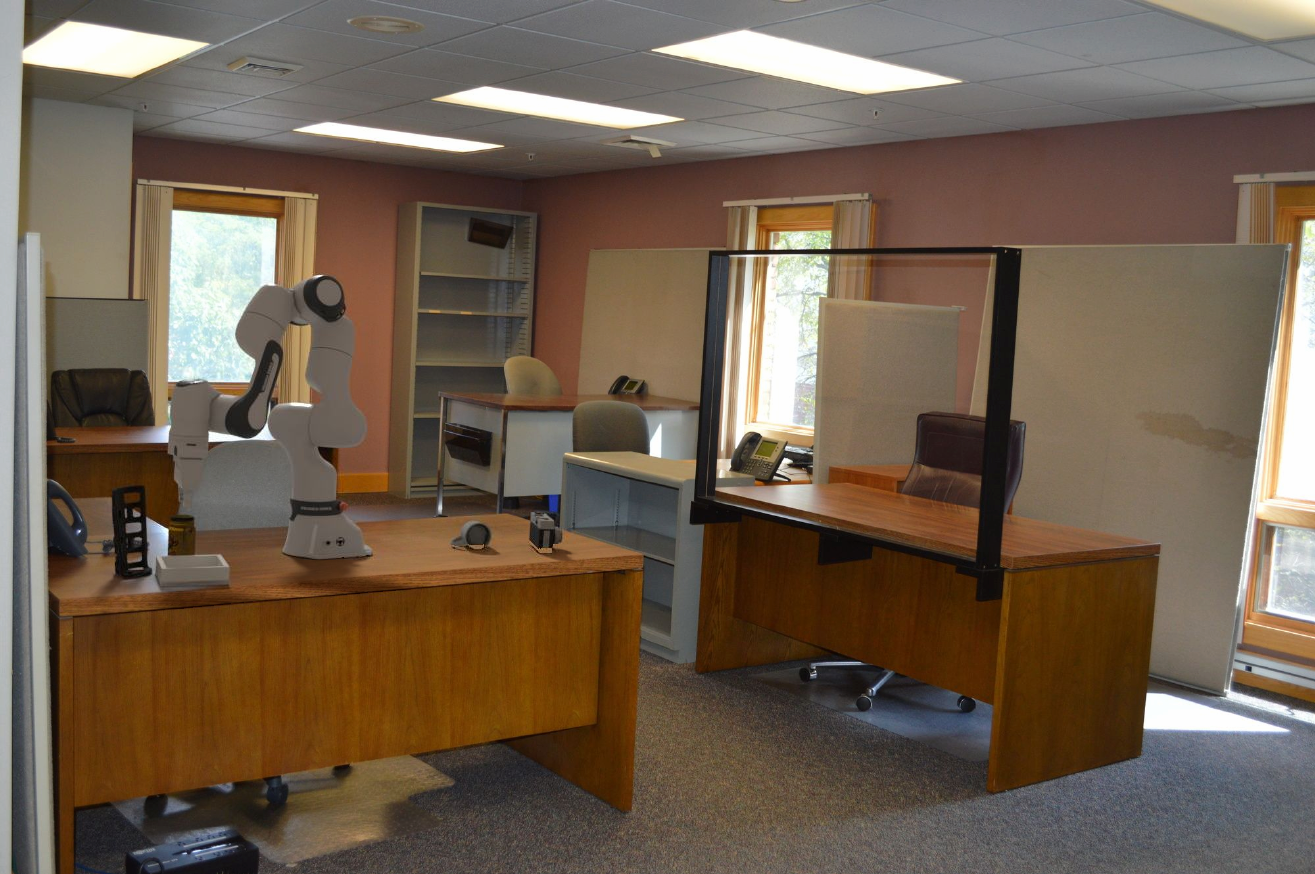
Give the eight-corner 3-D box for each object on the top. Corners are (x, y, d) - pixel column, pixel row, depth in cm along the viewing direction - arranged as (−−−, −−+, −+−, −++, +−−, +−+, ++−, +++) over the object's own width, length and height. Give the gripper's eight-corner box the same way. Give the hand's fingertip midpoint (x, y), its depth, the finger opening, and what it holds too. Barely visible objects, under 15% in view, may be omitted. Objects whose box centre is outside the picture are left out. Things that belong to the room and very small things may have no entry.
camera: (565, 554, 319) (568, 519, 318) (537, 554, 317) (539, 518, 316) (555, 544, 332) (557, 511, 332) (527, 544, 330) (529, 510, 329)
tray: (220, 571, 267) (220, 554, 266) (228, 584, 254) (229, 566, 254) (155, 573, 260) (156, 555, 260) (161, 586, 248) (161, 568, 247)
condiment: (158, 565, 268) (160, 515, 267) (186, 560, 276) (188, 511, 275) (181, 570, 265) (183, 519, 264) (209, 564, 273) (211, 515, 272)
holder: (140, 578, 252) (135, 490, 251) (105, 580, 252) (99, 491, 250) (158, 569, 263) (153, 484, 262) (124, 570, 263) (119, 485, 261)
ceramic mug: (483, 544, 325) (484, 517, 324) (491, 549, 317) (492, 522, 317) (447, 545, 320) (448, 518, 320) (453, 550, 313) (455, 523, 312)
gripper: (169, 442, 275) (166, 498, 276) (178, 451, 258) (175, 511, 258) (197, 443, 278) (194, 499, 279) (207, 452, 261) (204, 511, 261)
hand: (185, 505), depth 269 cm, fingers open, 8 cm apart
